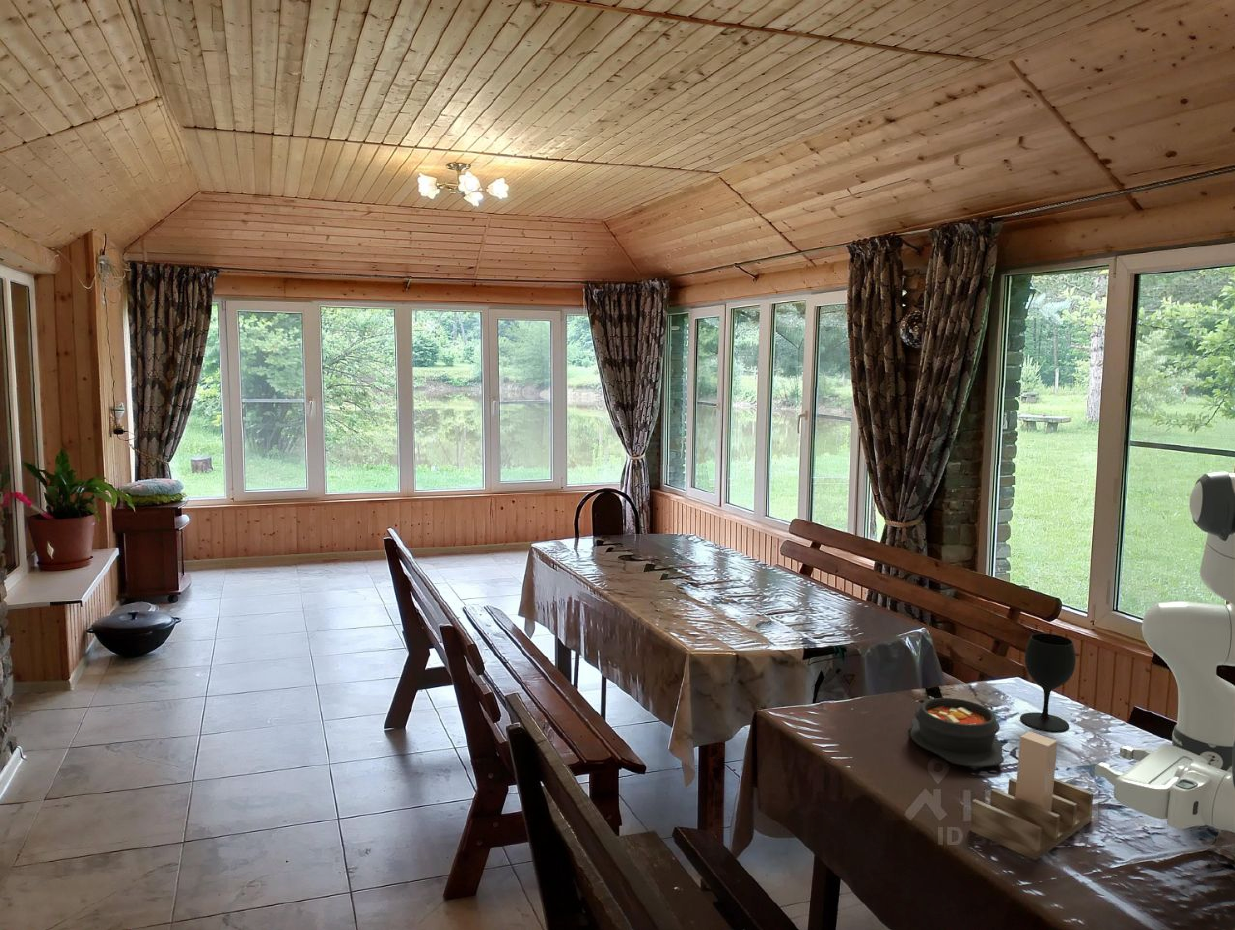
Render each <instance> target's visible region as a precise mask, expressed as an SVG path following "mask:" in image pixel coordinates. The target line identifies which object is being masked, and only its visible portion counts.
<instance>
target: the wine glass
mask: <svg viewBox="0 0 1235 930" xmlns="http://www.w3.org/2000/svg"><path fill="white" fill-rule="evenodd" d="M1024 652H1025V653H1024V664H1025V667H1026V671H1027V673H1028V674H1029V676H1030V678H1031V679H1032V680H1033V681H1034V682H1035V683H1036V684H1037V685H1038V686H1040V688H1041V689H1043V708H1042V712H1038V711H1036V712H1034V711H1033V712H1025V713H1022V714H1021V715H1020V717H1019V719H1020V721H1021V723H1023V725H1025V726H1026V727H1029V728H1031V729H1034V730H1038V731H1041V732H1045V733H1064V732H1066V731H1068V730H1069V729H1070V724H1069V723H1068V722H1067V721H1066V720H1065V719H1063V718H1062V717H1059V716H1058V715H1057V716H1056V715H1053V714H1050V713H1049V701H1050V696H1051V693H1052V691H1053V690H1055V689H1057V688H1059V687H1061V686H1063V685H1065V684H1066V683H1067V682H1068V681H1069V680H1070V678H1071V677H1072V676H1073V674H1074V671H1075V668H1076V659H1077V658H1076V651H1075V646H1074V642H1073V640H1071V639H1070V638H1068V637H1066V636H1063V635H1058V634H1054V633H1045V632H1044V633H1042V632H1041V633H1040V632H1039V633H1038V632H1037V633H1033V634H1031V635H1030V637H1029V639H1028V642H1027V644H1026V647H1025V651H1024Z"/></svg>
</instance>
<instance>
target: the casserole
mask: <svg viewBox="0 0 1235 930" xmlns="http://www.w3.org/2000/svg"><path fill="white" fill-rule="evenodd" d="M914 715H915V717H913V718H912V719H911V729H910V731H909V732H910V733H909V734H910V737H911V739H912V740H913V741H914V742H915V743H916V745H918V746H920V747H922V748H923V749H925V750H926V751H929V752H930V753H934V755H935V754H936V755H938V756H939V757H941V758H943V759H945V760H946V761H948V762H949V763H952V764H954V765H958V766H964V767H976V768H982V767H983V768H985V767H995V766H998V765H1001V764H1003V763H1004V761H1005V760H1004V759H1005V758H1004V756H1003V754H1002V753H1003V745H1002V742H1001V741H1000V740H999V739H998V738H997V737H996V734H997V733H998V732H999V731H1000V728H1001V726H1000V724H999V722H998V721H997V719H996V716H995V713H993V711H992V710H991V709H989V708H987V707H986V706H983V705H981V704H978V703H976V702H973V701H968V700H964V699H958V698H952V697H949V698H948V697H937V698H935V697H934V698H930V699H927V700H925V701H923V702H922V703H921V705H920V707H919V708H918V709H917V710H916V711H915V714H914Z"/></svg>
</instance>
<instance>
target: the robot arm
mask: <svg viewBox="0 0 1235 930" xmlns="http://www.w3.org/2000/svg"><path fill="white" fill-rule="evenodd" d="M1189 511H1190V514H1191V516H1192V517H1191V518H1192V521H1193V523H1194V525H1196V526H1197V527H1198V528H1199V530H1201V531H1203V532H1204V533H1207V535H1206V540H1205V545H1204V550H1203V555H1202V559H1201V564H1200V568H1199V575H1200V578H1201V581H1202V583H1203V584H1204V585H1205V587H1206V588H1207V589H1208V590H1210V591H1211V592H1212V593H1213V594H1214V595H1216V596H1217V597H1218V598H1221V599H1223V600H1224V601H1226V602H1228V604H1218V603H1217V604H1216V603H1206V602H1197V601H1186V600H1175V601H1164V602H1163V601H1161V602H1155V603H1154V604H1153V605H1152V606H1150V607H1149V609H1147V611H1146V613H1145V614H1144V616H1143V619H1142V622H1141V623H1142V624H1141V631H1142V636H1143V638H1144V641H1145V643H1146V644H1147V646H1148V647H1149V648H1150V649H1151V651H1153V652H1154V653H1155V654H1156V655H1157V656H1159V657H1160V659H1162V660H1163V661H1164V663H1166V664H1167V667H1169V669H1170V670H1171V673H1172V674H1173V676H1174V679H1175V681H1176V684H1177V685H1176V686H1177V694H1178V696H1177V697H1178V710H1177V721H1176V724H1175V725H1174V728H1173V731H1172V733H1171V734H1172V735H1171V738H1172V739H1171V744H1165V743H1164V744H1161V745H1160V746H1159V747H1157V748H1155V750H1152V749H1147V748H1138V747H1137V748H1136V747H1133V746H1129V745H1126V744H1124V745H1123V746H1121V747H1120V749H1119V757H1120V758H1122V759H1125V760H1126V761H1127V760H1128V761H1132V760H1134V761H1138V762H1137V763H1136V764H1134V765H1133V766H1132V767H1130V768H1129V769H1127V770H1126V771H1124V772H1122V771H1121V770H1118V771H1116V770H1114V769H1113V768H1111V765H1109V764H1108V763H1104V762H1099V763H1097V764H1095V765H1094V774H1095V775H1096V776H1098V777H1101V778H1104V779H1105V780H1106V781H1108V783H1110V784H1111V785H1112V786H1113V798H1114V799H1115V800H1116V801H1117V802H1118V803H1119V804H1121V805H1122V806H1125V807H1127V808H1130V809H1132V810H1134V811H1137V812H1138V813H1141V814H1143V815H1146V816H1149V817H1152V818H1155V819H1158V820H1159V819H1160V820H1166V824H1167V825H1168V826H1169V827H1171V828H1174V829H1177V830H1185V829H1188V828H1192V827H1204V826H1209V827H1211V828H1212V829H1213V828H1214V829H1217V830H1219V831H1226V832H1232V833H1234V834H1235V685H1234V684H1232V683H1231V682H1229V681H1227V680H1226V679H1223V678H1221V677H1220V676H1218V675H1217V667H1218V666H1230V667H1235V472H1231V473H1230V472H1228V471H1215V472H1208V473H1204V474H1202V475H1201V476H1200V477H1199V478H1198V479H1197V480H1196V482H1195V483H1194V487H1193V489H1192V490H1191V493H1190V496H1189Z"/></svg>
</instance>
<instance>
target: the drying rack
mask: <svg viewBox="0 0 1235 930" xmlns="http://www.w3.org/2000/svg"><path fill="white" fill-rule="evenodd" d="M1016 781H1017V778H1013V777H1011V778H1009V780H1008V789H1007V792H1004V791H1001V790H999V789H996V788H992V789H991V790H990V798H989V799H990V800H989V801H990V802H989V804H988V803H985V802H984V801H980V800H978V799H977V798H974V799H972V801H971V811H970V813H971V814H970V821H969V831H970V832H972V833H975V834H977V835H979V836H982V837H983V838H985V839H988V840H989V841H992V842H994V843H996V844H997V845H998V844H999V845H1000V846H1003V847H1005V848H1007V849H1009V850H1011V851H1014V852H1016V853H1018V854H1020V855H1022V856H1024V857H1027V858H1029V859H1032V860H1033V861H1037V860H1038V859H1040V858H1041V857H1043V856H1044V855H1045V854H1047V853H1048V852H1049V851H1052V850H1053V849H1054V848H1055V847H1057V846H1058V845H1060V844H1061V843H1063V842H1064V841H1066V839H1068V838H1070V837H1071V836H1073V834H1076V832H1078V831H1079V830H1081V829H1082V828H1084V827H1085V826H1087V825H1088V824H1090V823H1091V822H1092V819H1093V818H1092V817H1093V802H1094V792H1092V791H1089V790H1087V789H1085V788H1082V787H1079V786H1077V785H1074V784H1071V783H1068V782H1066V781H1063V780H1061V779H1057V778H1055V777H1054V786H1053V797H1052V809H1051V812H1050V811H1048V810H1046V809H1043V808H1041V807H1038V806H1036V805H1033V804H1031V803H1029V802H1026V801H1024V800H1021V799H1019V798H1016V797H1015V794H1016Z"/></svg>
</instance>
